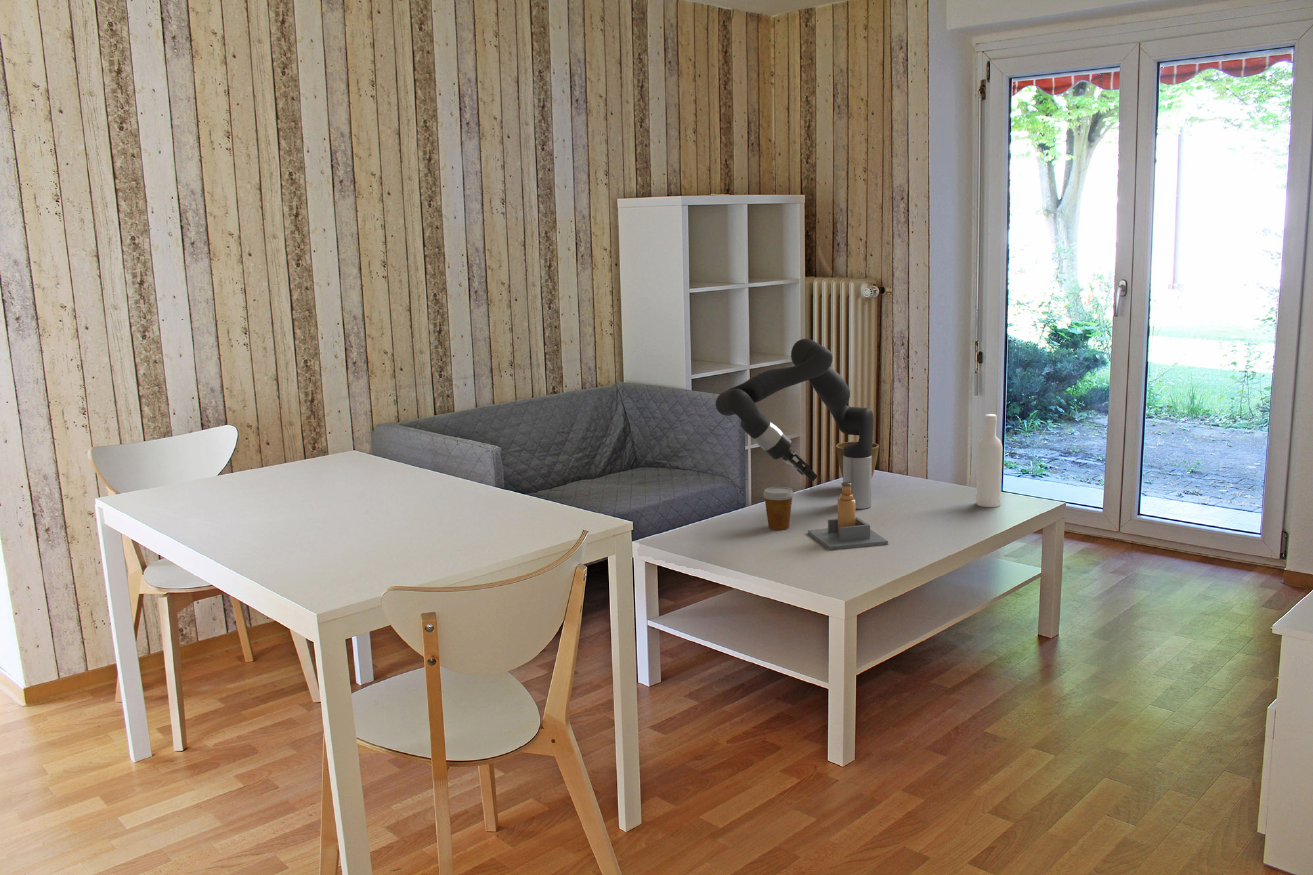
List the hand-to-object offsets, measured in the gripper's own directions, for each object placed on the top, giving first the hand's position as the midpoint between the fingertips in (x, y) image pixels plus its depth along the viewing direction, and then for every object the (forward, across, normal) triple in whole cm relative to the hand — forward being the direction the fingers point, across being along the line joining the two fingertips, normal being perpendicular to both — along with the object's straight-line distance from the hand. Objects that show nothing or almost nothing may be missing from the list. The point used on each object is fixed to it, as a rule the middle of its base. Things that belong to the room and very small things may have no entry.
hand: (809, 475), depth 298 cm
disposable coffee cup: (+12, +18, +17) cm, 27 cm away
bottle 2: (+64, +22, -35) cm, 76 cm away
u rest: (+22, 0, +6) cm, 23 cm away
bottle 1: (+22, 0, +5) cm, 22 cm away
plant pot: (+42, +56, -13) cm, 71 cm away
